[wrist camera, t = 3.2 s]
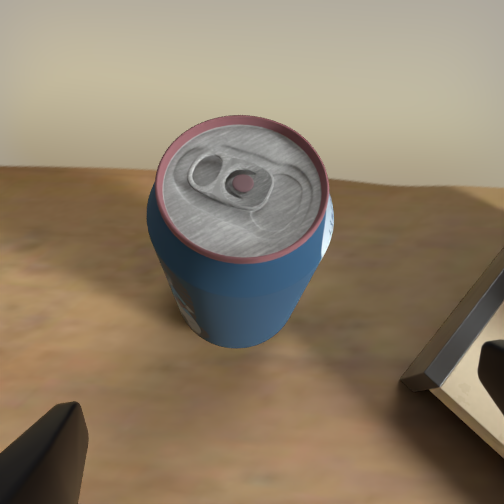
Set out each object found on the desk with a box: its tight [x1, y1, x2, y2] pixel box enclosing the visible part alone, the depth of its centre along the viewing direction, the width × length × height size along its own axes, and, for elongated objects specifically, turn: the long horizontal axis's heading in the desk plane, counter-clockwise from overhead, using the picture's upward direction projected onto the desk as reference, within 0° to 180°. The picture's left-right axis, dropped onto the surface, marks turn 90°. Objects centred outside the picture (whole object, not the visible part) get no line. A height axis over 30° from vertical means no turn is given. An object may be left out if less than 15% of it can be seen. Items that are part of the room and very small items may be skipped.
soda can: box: [147, 115, 334, 348], centre depth 18 cm, size 7×7×12 cm
